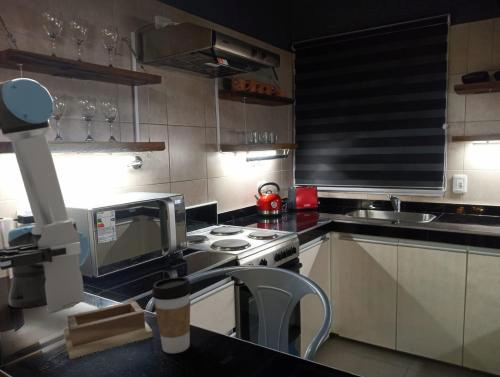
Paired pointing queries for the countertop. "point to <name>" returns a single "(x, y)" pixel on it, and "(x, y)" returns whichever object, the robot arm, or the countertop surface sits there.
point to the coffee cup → (173, 313)
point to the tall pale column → (61, 268)
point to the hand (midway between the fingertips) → (78, 245)
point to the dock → (105, 328)
